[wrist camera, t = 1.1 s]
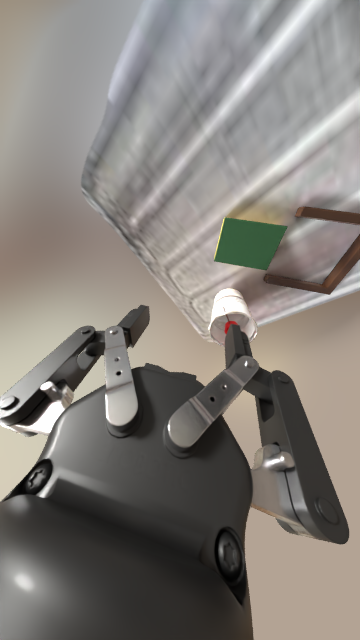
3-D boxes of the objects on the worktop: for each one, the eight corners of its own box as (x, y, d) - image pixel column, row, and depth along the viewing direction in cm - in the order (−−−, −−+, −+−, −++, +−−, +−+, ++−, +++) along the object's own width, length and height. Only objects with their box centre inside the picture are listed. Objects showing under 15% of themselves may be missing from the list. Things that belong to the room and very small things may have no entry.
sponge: (224, 217, 26) (224, 217, 23) (280, 225, 25) (287, 226, 22) (214, 257, 30) (214, 261, 28) (262, 265, 29) (266, 270, 27)
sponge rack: (298, 207, 23) (304, 206, 22) (381, 217, 22) (393, 217, 20) (263, 279, 31) (266, 282, 29) (323, 290, 29) (329, 294, 28)
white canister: (251, 312, 36) (263, 346, 26) (218, 321, 39) (218, 354, 30) (240, 276, 31) (250, 301, 22) (204, 290, 35) (200, 317, 25)
